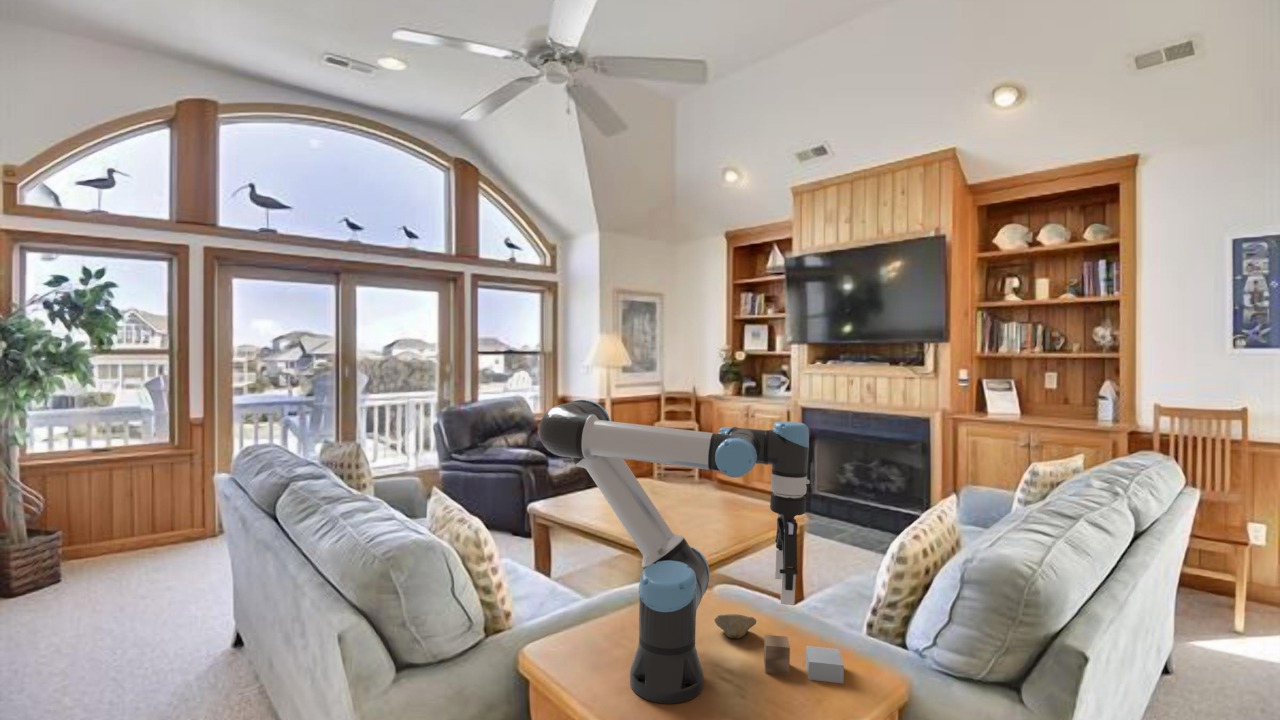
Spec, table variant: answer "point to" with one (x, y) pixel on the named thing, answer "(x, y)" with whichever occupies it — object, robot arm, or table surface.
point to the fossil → (735, 624)
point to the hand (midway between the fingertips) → (784, 590)
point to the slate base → (824, 664)
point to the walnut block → (776, 655)
